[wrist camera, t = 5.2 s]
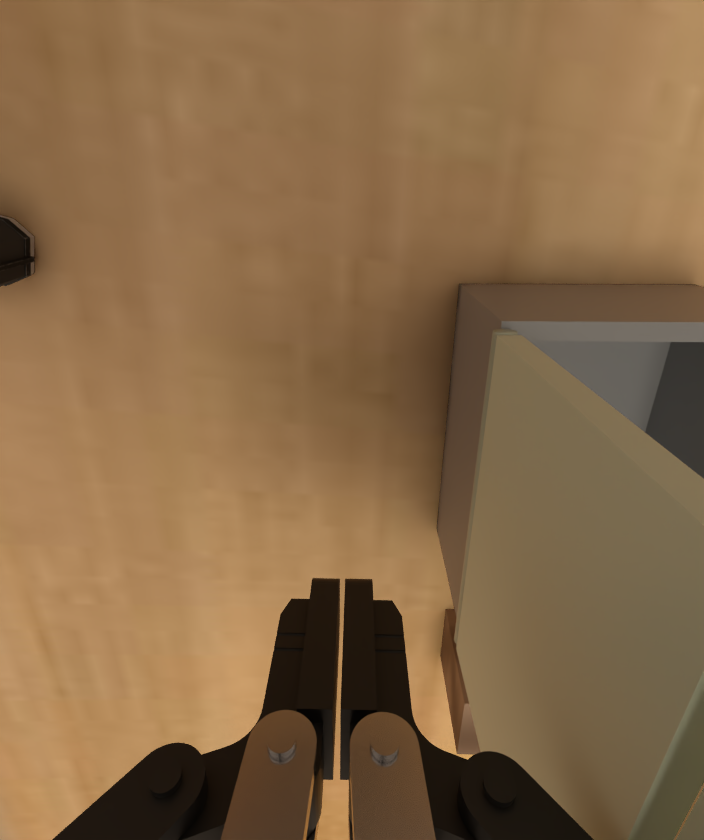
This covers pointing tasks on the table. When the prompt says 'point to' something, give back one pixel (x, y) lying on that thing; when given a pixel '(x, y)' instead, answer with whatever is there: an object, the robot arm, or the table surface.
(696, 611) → the lid
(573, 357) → the box
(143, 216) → the table surface
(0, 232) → the camera
